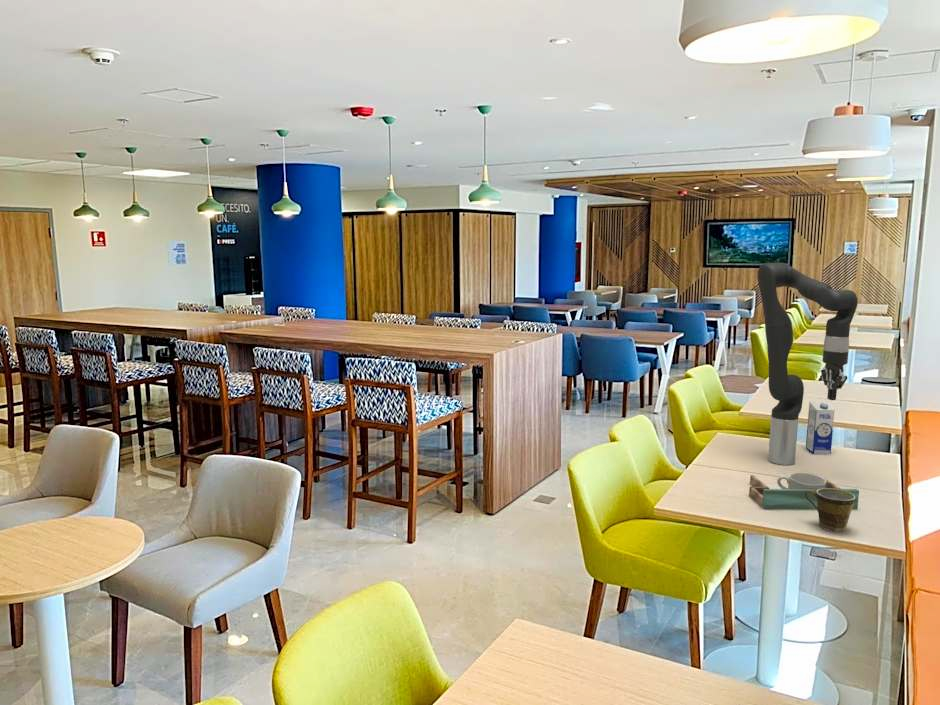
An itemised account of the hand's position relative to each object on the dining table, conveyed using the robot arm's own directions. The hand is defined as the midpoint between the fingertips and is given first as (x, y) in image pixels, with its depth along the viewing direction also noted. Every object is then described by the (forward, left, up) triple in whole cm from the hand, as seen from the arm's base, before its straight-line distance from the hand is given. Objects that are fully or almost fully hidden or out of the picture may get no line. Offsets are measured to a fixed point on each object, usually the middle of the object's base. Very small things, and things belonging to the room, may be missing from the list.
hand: (831, 399), depth 232 cm
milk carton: (-34, +15, -29) cm, 47 cm away
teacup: (+18, -17, -29) cm, 38 cm away
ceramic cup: (+38, -19, -29) cm, 52 cm away
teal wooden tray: (+14, -18, -29) cm, 37 cm away
